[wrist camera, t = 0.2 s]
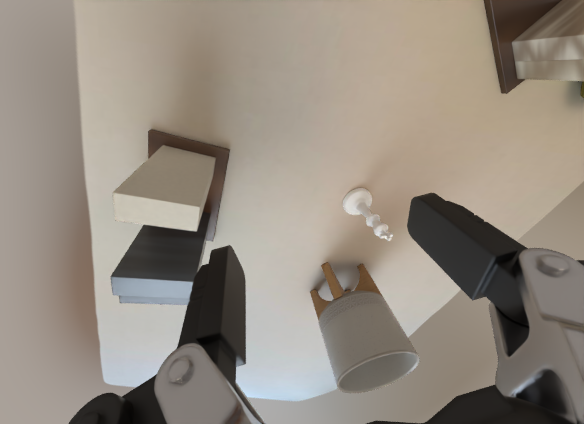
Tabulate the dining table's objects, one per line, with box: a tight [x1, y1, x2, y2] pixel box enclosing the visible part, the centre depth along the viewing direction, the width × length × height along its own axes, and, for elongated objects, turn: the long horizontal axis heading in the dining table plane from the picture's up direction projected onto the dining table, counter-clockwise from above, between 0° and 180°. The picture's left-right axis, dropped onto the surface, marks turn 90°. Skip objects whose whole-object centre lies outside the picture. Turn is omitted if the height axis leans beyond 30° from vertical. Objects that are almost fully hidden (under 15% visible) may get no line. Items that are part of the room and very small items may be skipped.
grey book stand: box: [111, 130, 230, 305], centre depth 25 cm, size 15×9×13 cm, turn 161°
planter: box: [310, 262, 420, 393], centre depth 40 cm, size 13×13×18 cm
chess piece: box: [343, 188, 393, 241], centre depth 32 cm, size 5×5×10 cm
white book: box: [113, 145, 216, 231], centre depth 22 cm, size 3×6×12 cm, turn 71°
